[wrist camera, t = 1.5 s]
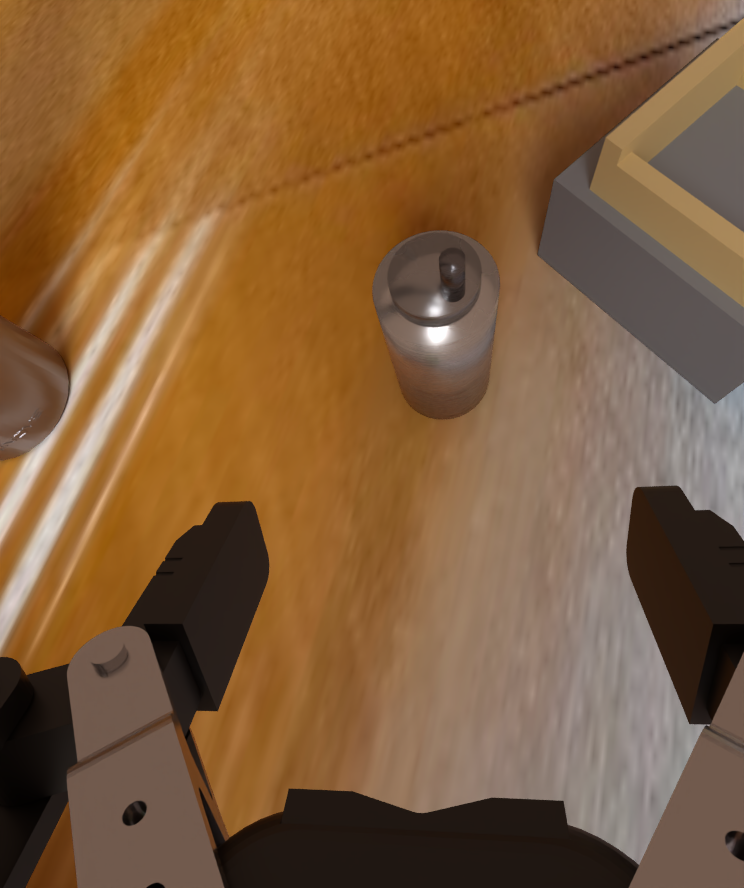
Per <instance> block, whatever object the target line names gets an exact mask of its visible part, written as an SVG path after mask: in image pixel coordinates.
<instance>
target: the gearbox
mask: <svg viewBox="0 0 744 888" xmlns="http://www.w3.org/2000/svg"><path fill="white" fill-rule="evenodd" d="M538 256H539V257H540V258H542V259H543V260H544V261H545V262H546V263H548V264H549V265H550V266H551V267H552V268H554V269H555V270H556V271H557V272H558V273H560V274H561V275H562V276H563V277H564V278H565V279H567V280H568V281H569V282H570V283H571V284H573V285H574V286H575V287H576V288H577V289H579V290H580V291H581V292H582V293H583V294H585V295H586V296H587V297H588V298H589V299H590V300H592V301H593V302H594V303H595V304H596V305H598V306H599V307H600V308H601V309H602V310H604V311H605V312H606V313H607V314H608V315H610V316H611V317H612V318H613V319H614V320H616V321H617V322H618V323H619V324H620V325H621V326H623V327H624V328H625V329H626V330H627V331H629V332H630V333H631V334H632V335H633V336H635V337H636V338H637V339H638V340H639V341H641V342H642V343H643V344H644V345H645V346H646V347H648V348H649V349H650V350H651V351H652V352H654V353H655V354H656V355H657V356H658V357H660V358H661V359H662V360H663V361H664V362H666V363H667V364H668V365H669V366H670V367H671V368H673V369H674V370H675V371H676V372H677V373H679V374H680V375H681V376H682V377H683V378H685V379H686V380H687V381H688V382H689V383H691V384H692V385H693V386H694V387H695V388H696V389H698V390H699V391H700V392H701V393H702V394H704V395H705V396H706V397H707V398H708V399H710V400H711V401H712V402H713V403H714V404H715V403H717V402H718V401H719V400H721V399H722V398H723V397H725V396H726V395H727V394H729V393H730V392H731V391H733V390H734V389H735V388H737V387H738V386H739V385H741V384H742V383H743V382H744V18H743V19H742V20H741V21H740V22H739V23H737V24H736V25H735V26H734V27H733V28H732V29H731V30H729V31H728V32H727V33H726V34H725V35H724V36H722V37H721V38H720V39H718V38H717V39H716V40H715V41H713V42H712V43H711V44H710V45H709V46H708V47H707V48H705V49H704V50H703V51H702V52H701V53H700V54H698V55H697V56H696V57H695V58H694V59H693V60H692V61H690V62H689V63H688V64H687V65H686V66H685V67H683V68H682V69H681V70H680V71H679V72H678V73H676V74H675V75H674V76H673V77H672V78H671V79H670V80H668V81H667V82H666V83H665V84H664V85H663V86H661V87H660V88H659V89H658V90H657V91H656V92H655V93H653V94H652V95H651V96H650V97H649V98H648V99H646V100H645V101H644V102H643V103H642V104H641V105H639V106H638V107H637V108H636V109H635V110H634V111H633V112H631V113H630V114H629V115H628V116H627V117H626V118H624V119H623V120H622V121H621V122H620V123H619V124H618V125H616V126H615V127H614V128H613V129H612V130H611V131H609V132H608V133H607V134H606V135H605V136H604V137H602V138H601V139H600V140H599V141H598V142H597V143H596V144H594V145H593V146H592V147H591V148H590V149H589V150H587V151H586V152H585V153H584V154H583V155H582V156H581V157H579V158H578V159H577V160H576V161H575V162H574V163H572V164H571V165H570V166H569V167H568V168H567V169H565V170H564V171H563V172H562V173H561V174H560V175H559V176H557V177H556V178H555V179H554V182H553V187H552V191H551V196H550V200H549V205H548V210H547V214H546V219H545V223H544V228H543V232H542V237H541V242H540V246H539V251H538Z"/></svg>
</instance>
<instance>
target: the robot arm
mask: <svg viewBox="0 0 744 888" xmlns="http://www.w3.org/2000/svg"><path fill="white" fill-rule="evenodd" d="M68 386H69V380H68V374H67V369H66V366H65V364H64V362H63V359H62V358H61V356H60V355H59V354H58V352H57V351H56V350H55V349H54V348H52V347H51V346H50V345H49V344H47V343H46V342H44V341H42V340H41V339H39V338H37V337H36V336H34V335H32V334H31V333H29V332H27V331H26V330H24V329H22V328H21V327H19V326H17V325H15V324H14V323H12V322H10V321H9V320H7V319H6V318H4V317H2V316H1V315H0V460H6V459H11V458H15V457H17V456H20V455H22V454H24V453H26V452H28V451H30V450H31V449H33V448H34V447H35V446H37V445H38V444H40V443H41V442H42V441H43V440H44V439H45V438H46V437H47V436H48V435H49V434H50V432H51V431H52V430H53V428H54V427H55V425H56V424H57V422H58V421H59V419H60V417H61V415H62V412H63V410H64V408H65V404H66V401H67V397H68ZM626 555H627V565H628V571H629V575H630V578H631V581H632V583H633V586H634V588H635V590H636V593H637V595H638V598H639V600H640V603H641V605H642V608H643V610H644V613H645V615H646V618H647V620H648V623H649V625H650V628H651V630H652V633H653V635H654V637H655V640H656V642H657V645H658V647H659V650H660V652H661V655H662V657H663V660H664V662H665V665H666V667H667V670H668V672H669V675H670V677H671V679H672V682H673V684H674V687H675V689H676V692H677V694H678V697H679V699H680V702H681V704H682V707H683V709H684V712H685V714H686V717H687V719H688V722H689V724H710V726H707V725H706V726H705V727H704V729H703V731H702V732H701V734H700V736H699V738H698V740H697V743H696V745H695V747H694V749H693V751H692V753H691V755H690V758H689V760H688V762H687V764H686V766H685V768H684V770H683V773H682V775H681V777H680V779H679V781H678V783H677V785H676V788H675V790H674V792H673V794H672V796H671V798H670V800H669V803H668V805H667V807H666V809H665V811H664V813H663V815H662V818H661V820H660V822H659V824H658V826H657V828H656V830H655V833H654V835H653V837H652V839H651V841H650V843H649V845H648V848H647V850H646V852H645V854H644V856H643V858H642V860H641V863H640V865H638V864H637V863H636V862H635V861H634V860H632V859H631V858H630V857H628V856H627V855H625V854H624V853H623V852H621V851H620V850H619V849H617V848H616V847H614V846H612V845H611V844H609V843H607V842H606V841H604V840H602V839H601V838H599V837H597V836H595V835H592V834H590V833H588V832H586V831H584V830H582V829H579V828H576V827H573V826H570V825H567V819H566V813H565V807H564V802H563V801H553V800H531V799H509V798H489V799H484V800H480V801H476V802H472V803H467V804H463V805H459V806H454V807H450V808H446V809H441V810H437V811H433V812H428V813H415V812H412V811H409V810H406V809H403V808H400V807H397V806H394V805H391V804H388V803H385V802H382V801H379V800H376V799H373V798H370V797H367V796H364V795H361V794H358V793H356V792H353V791H331V790H308V789H289V791H288V795H287V799H286V803H285V808H284V811H283V812H280V813H276V814H273V815H271V816H268V817H265V818H263V819H260V820H258V821H256V822H254V823H252V824H250V825H249V826H247V827H245V828H243V829H242V830H240V831H239V832H237V833H236V834H234V835H233V836H231V837H229V835H228V832H227V830H226V827H225V825H224V822H223V820H222V817H221V814H220V811H219V809H218V806H217V803H216V800H215V797H214V794H213V791H212V788H211V785H210V782H209V779H208V776H207V773H206V770H205V768H204V765H203V762H202V759H201V756H200V753H199V750H198V747H197V744H196V741H195V738H194V735H193V733H192V730H191V728H190V724H191V722H192V720H193V717H194V715H195V712H196V711H218V709H219V706H220V704H221V701H222V699H223V696H224V693H225V691H226V688H227V685H228V683H229V680H230V678H231V675H232V672H233V670H234V667H235V665H236V662H237V659H238V657H239V654H240V651H241V649H242V646H243V644H244V641H245V638H246V636H247V633H248V631H249V628H250V625H251V623H252V620H253V618H254V615H255V612H256V610H257V607H258V604H259V602H260V599H261V597H262V594H263V591H264V589H265V586H266V583H267V580H268V575H269V557H268V552H267V549H266V545H265V542H264V538H263V534H262V531H261V527H260V524H259V520H258V516H257V513H256V509H255V507H254V505H253V503H252V502H250V501H241V502H218V503H216V504H215V505H214V506H213V508H212V509H211V511H210V513H209V514H208V516H207V518H206V519H205V521H204V523H203V524H202V525H195V526H193V527H192V528H191V529H190V530H188V531H187V532H186V533H185V534H184V535H182V536H181V537H180V538H179V539H178V540H176V542H175V543H174V545H173V546H172V548H171V550H170V551H169V553H168V554H167V556H166V557H165V561H163V562H162V564H161V565H160V567H159V568H158V570H157V572H156V576H153V578H152V579H151V581H150V583H149V584H148V586H147V587H146V589H145V590H144V592H143V594H142V595H141V597H140V598H139V600H138V601H137V603H136V605H135V606H134V608H133V609H132V611H131V612H130V614H129V616H128V617H127V619H126V620H125V622H124V623H123V625H122V627H117V628H114V629H110V630H108V631H105V632H103V633H101V634H99V635H97V636H96V637H94V638H93V639H91V640H90V641H88V642H87V643H86V644H85V645H84V646H83V647H81V648H80V649H79V651H78V652H77V653H76V654H75V655H74V657H73V658H72V660H71V662H70V664H66V665H63V666H59V667H55V668H51V669H48V670H44V671H40V672H36V673H33V674H29V675H26V674H25V672H24V671H23V669H22V667H21V666H20V664H19V663H18V662H17V661H16V660H14V659H12V658H8V657H0V888H25V887H26V885H27V883H28V881H29V879H30V877H31V875H32V873H33V871H34V869H35V867H36V865H37V863H38V861H39V859H40V857H41V855H42V853H43V851H44V849H45V847H46V845H47V843H48V841H49V839H50V837H51V835H52V833H53V831H54V829H55V827H56V825H57V823H58V821H59V819H60V817H61V815H62V813H63V810H64V808H65V806H66V804H67V802H68V800H69V809H70V818H71V828H72V838H73V847H74V857H75V867H76V876H77V886H78V888H744V541H743V539H742V538H741V536H740V535H739V534H738V532H737V531H736V529H735V528H734V527H733V526H732V525H731V524H729V523H728V522H726V521H725V520H723V519H722V518H721V517H719V516H718V515H716V514H715V513H713V512H712V511H711V510H694V508H693V507H692V505H691V504H690V502H689V500H688V499H687V497H686V496H685V494H684V493H683V491H682V490H681V488H680V487H679V486H654V487H637V488H636V489H635V490H634V493H633V498H632V507H631V515H630V523H629V531H628V539H627V549H626Z"/></svg>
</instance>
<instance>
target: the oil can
mask: <svg viewBox="0 0 744 888" xmlns="http://www.w3.org/2000/svg"><path fill="white" fill-rule="evenodd" d="M499 289H500V277H499V273H498V269H497V266H496V263H495V261H494V260H493V258H492V256H491V255H490V254H489V252H488V251H487V250H486V249H485V248H484V247H483V246H482V245H481V244H480V243H478V242H477V241H475V240H474V239H472V238H470V237H468V236H466V235H463V234H460V233H457V232H452V231H439V230H438V231H428V232H423V233H420V234H417V235H414V236H411V237H409V238H407V239H405V240H404V241H402V242H400V243H399V244H398V245H396V246H395V247H394V248H393V249H392V250H390V251H389V252H388V254H387V255H386V256H385V257H384V258H383V260H382V262H381V263H380V265H379V267H378V269H377V271H376V274H375V277H374V281H373V301H374V305H375V308H376V311H377V315H378V318H379V321H380V324H381V328H382V331H383V334H384V337H385V340H386V344H387V347H388V350H389V353H390V356H391V360H392V363H393V366H394V369H395V373H396V376H397V379H398V382H399V385H400V389H401V392H402V394H403V396H404V398H405V400H406V401H407V403H408V404H409V405H410V406H411V407H412V408H413V409H414V410H415V411H417V412H418V413H420V414H422V415H424V416H426V417H429V418H433V419H453V418H456V417H460V416H462V415H464V414H466V413H468V412H470V411H471V410H472V409H473V408H475V407H476V406H477V405H478V404H479V402H480V401H481V400H482V398H483V397H484V395H485V393H486V390H487V387H488V383H489V375H490V366H491V358H492V349H493V341H494V332H495V324H496V315H497V307H498V298H499Z"/></svg>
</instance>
